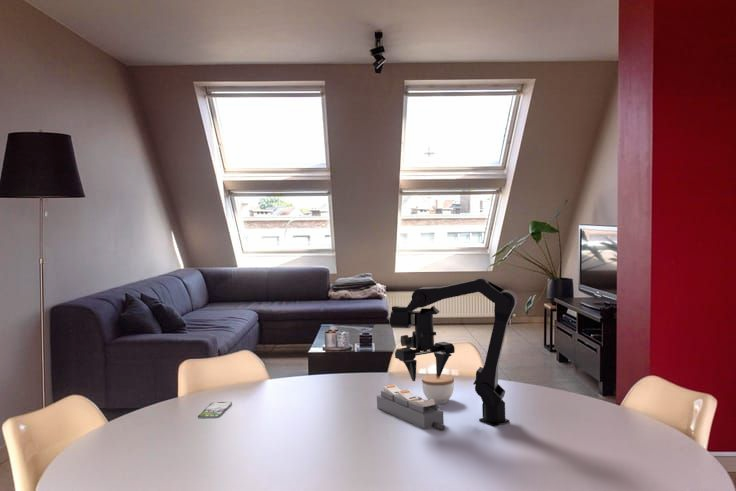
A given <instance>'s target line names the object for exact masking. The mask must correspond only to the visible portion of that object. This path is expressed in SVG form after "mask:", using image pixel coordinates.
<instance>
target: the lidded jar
mask: <svg viewBox="0 0 736 491" xmlns="http://www.w3.org/2000/svg"><path fill="white" fill-rule="evenodd" d="M454 382H455V378H454V377H453V376H452V375H449V374H443V373H441V375H440V377H438V376H437V372H436V373H435V374H434V373H433V374H428V375H424V376H422V377H421V385H422V386H421V387H422V392H423V394H424V396H425V399H434V403H436V404H438V405H439V404H446V403H447V402H448V401H449V399H450V398H452V396H453V394H454V385H455V383H454Z"/></svg>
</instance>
